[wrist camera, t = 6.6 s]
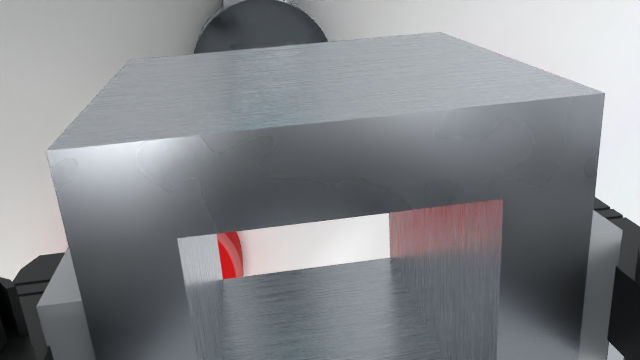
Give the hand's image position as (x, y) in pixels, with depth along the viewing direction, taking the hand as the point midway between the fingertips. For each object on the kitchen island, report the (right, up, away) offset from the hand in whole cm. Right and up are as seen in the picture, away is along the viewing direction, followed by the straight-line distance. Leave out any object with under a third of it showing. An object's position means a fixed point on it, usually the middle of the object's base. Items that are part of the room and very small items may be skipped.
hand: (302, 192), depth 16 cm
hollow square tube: (0, 0, 0) cm, 0 cm away
